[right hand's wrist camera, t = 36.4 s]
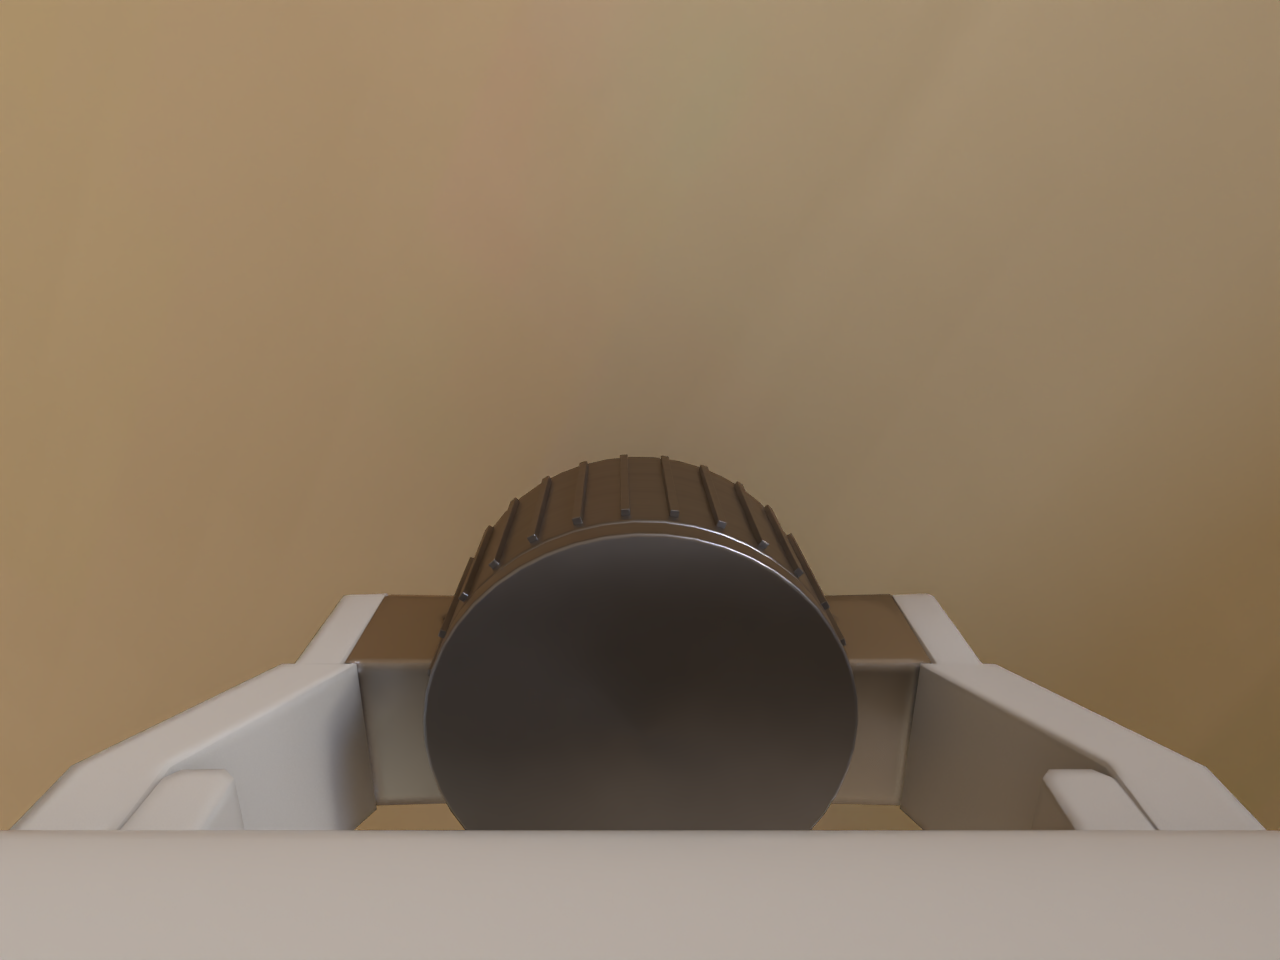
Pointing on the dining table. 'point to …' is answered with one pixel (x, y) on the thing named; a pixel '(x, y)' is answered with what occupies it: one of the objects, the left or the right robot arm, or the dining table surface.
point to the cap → (639, 663)
